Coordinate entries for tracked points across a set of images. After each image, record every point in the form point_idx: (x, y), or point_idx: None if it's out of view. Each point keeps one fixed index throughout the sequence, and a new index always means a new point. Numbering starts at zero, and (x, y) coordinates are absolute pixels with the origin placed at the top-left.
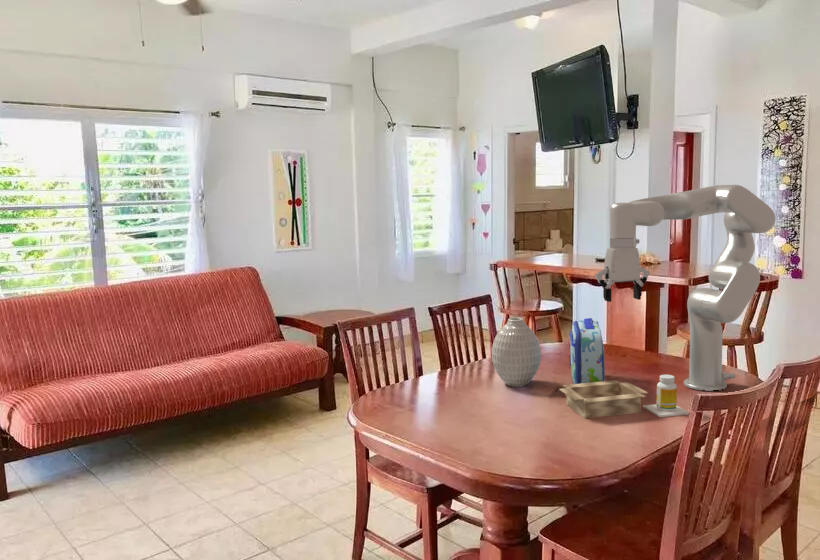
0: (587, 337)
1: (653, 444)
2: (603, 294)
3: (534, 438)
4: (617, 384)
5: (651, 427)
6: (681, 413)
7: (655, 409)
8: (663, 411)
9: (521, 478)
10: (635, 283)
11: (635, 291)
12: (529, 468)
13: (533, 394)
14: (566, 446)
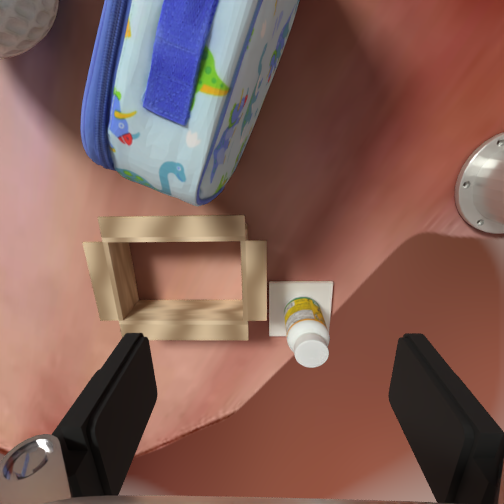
0: (140, 175)
1: (199, 416)
2: (84, 390)
3: (31, 358)
4: (237, 240)
5: (229, 366)
6: None
7: (279, 308)
8: None
9: (4, 451)
10: (497, 489)
11: (423, 414)
12: (15, 434)
13: (59, 121)
14: (75, 393)
